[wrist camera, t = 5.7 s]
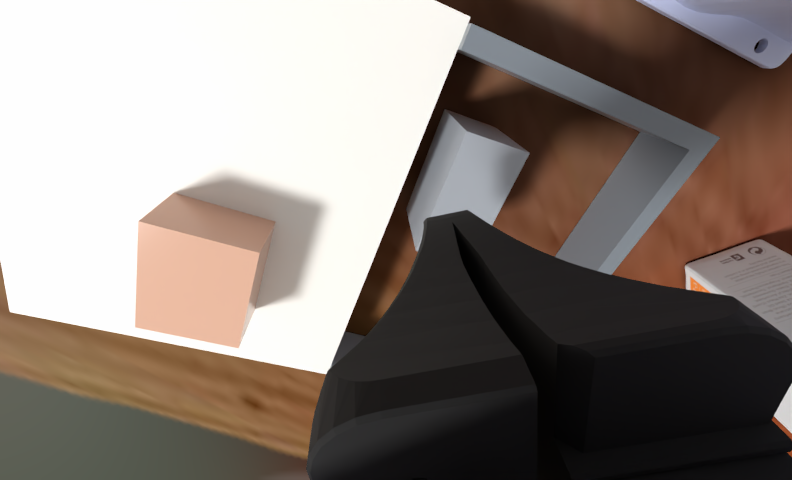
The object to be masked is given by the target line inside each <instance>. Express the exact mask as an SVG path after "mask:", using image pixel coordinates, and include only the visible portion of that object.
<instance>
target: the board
mask: <svg viewBox="0 0 792 480" xmlns="http://www.w3.org/2000/svg"><path fill="white" fill-rule="evenodd" d="M470 18H471V17H470V16H468V15H465V14H463V13H461V12H459V11H457V10H455V9H453V8H450V7H448V6H446V5H444V4H442V3H440V2H437V1H435V0H0V261H1V266H2V272H3V277H4V283H5V288H6V293H7V299H8V304H9V310H10V312H13V313H18V314H23V315H28V316H33V317H38V318H43V319H49V320H54V321H59V322H64V323H69V324H74V325H79V326H84V327H89V328H94V329H99V330H104V331H109V332H115V333H120V334H125V335H130V336H135V337H140V338H145V339H150V340H155V341H160V342H165V343H170V344H175V345H180V346H186V347H191V348H196V349H201V350H206V351H211V352H216V353H221V354H226V355H231V356H236V357H241V358H246V359H252V360H257V361H262V362H267V363H272V364H277V365H282V366H287V367H292V368H297V369H302V370H307V371H312V372H318V373H323V374H327V371H328V370H329V369H330V366H331V364H332V361H333V359H334V356H335V354H336V351H337V349H338V346H339V344H340V341H341V339H342V336H343V334H344V331H345V329H346V327H347V324H348V322H349V319H350V317H351V314H352V312H353V309H354V307H355V304H356V302H357V299H358V297H359V294H360V292H361V289H362V287H363V284H364V282H365V279H366V277H367V274H368V272H369V269H370V267H371V264H372V262H373V259H374V257H375V254H376V252H377V249H378V247H379V244H380V242H381V239H382V237H383V234H384V232H385V229H386V227H387V224H388V222H389V219H390V217H391V214H392V212H393V209H394V207H395V205H396V202H397V200H398V197H399V195H400V192H401V190H402V187H403V185H404V182H405V180H406V177H407V175H408V172H409V170H410V167H411V165H412V162H413V160H414V157H415V155H416V152H417V150H418V147H419V145H420V142H421V140H422V137H423V135H424V132H425V130H426V127H427V125H428V122H429V120H430V117H431V115H432V112H433V110H434V107H435V105H436V102H437V100H438V97H439V95H440V92H441V90H442V87H443V85H444V82H445V80H446V78H447V75H448V73H449V70H450V68H451V65H452V63H453V60H454V58H455V55H456V53H457V50H458V48H459V45H460V43H461V40H462V38H463V35H464V33H465V30H466V28H467V25H468V23H469V20H470ZM173 193H177V194H180V195H184V196H187V197H191V198H194V199H198V200H202V201H205V202H209V203H212V204H216V205H219V206H223V207H226V208H230V209H233V210H237V211H240V212H244V213H247V214H251V215H254V216H258V217H261V218H265V219H268V220H272V221H275V222H276V223H275V227H274V231H273V235H272V240H271V244H270V248H269V252H268V257H267V261H266V265H265V269H264V274H263V278H262V282H261V286H260V291H259V295H258V299H257V304H256V308H255V311H254V313H253V315H252V318H251V320H250V323H249V325H248V327H247V330H246V332H245V334H244V337H243V339H242V342H241V344H240V346H239V348H234V347H230V346H225V345H220V344H215V343H210V342H205V341H200V340H195V339H190V338H185V337H180V336H175V335H170V334H165V333H160V332H155V331H150V330H145V329H140V328H136V327H135V310H136V277H137V245H138V221H139V220H140V219H142V218H143V217H144V216H145V215H147V214H148V213H149V212H150V211H152V210H153V209H154V208H155V207H156V206H158V205H159V204H160V203H161V202H163V201H164V200H165V199H166V198H168V197H169V196H170V195H171V194H173Z"/></svg>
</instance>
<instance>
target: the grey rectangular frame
mask: <svg viewBox="0 0 792 480" xmlns="http://www.w3.org/2000/svg"><path fill="white" fill-rule="evenodd" d="M457 52H458V53H460V54H463V55H465V56H467V57H470V58H472V59H474V60H477V61H479V62H481V63H483V64H486V65H488V66H490V67H493V68H495V69H497V70H499V71H502V72H504V73H506V74H509V75H511V76H513V77H516V78H518V79H520V80H522V81H525V82H527V83H529V84H532V85H534V86H536V87H539V88H541V89H543V90H545V91H548V92H550V93H552V94H555V95H557V96H559V97H561V98H564V99H566V100H568V101H571V102H573V103H575V104H578V105H580V106H582V107H584V108H587V109H589V110H591V111H594V112H596V113H598V114H600V115H603V116H605V117H607V118H610V119H612V120H614V121H617V122H619V123H621V124H623V125H626V126H628V127H630V128H633V129H635V130H637V131H639V132H640V133H639V134H638V136H637V137H636V139H635V140H634V142H633V143H632V145H631V146H630V148H629V149H628V150H627V152H626V153H625V155H624V156H623V158H622V159H621V161H620V162H619V164H618V165H617V167H616V168H615V170H614V171H613V172H612V174H611V175H610V177H609V178H608V180H607V181H606V183H605V184H604V186H603V187H602V189H601V190H600V191H599V193H598V194H597V196H596V197H595V199H594V200H593V202H592V203H591V205H590V206H589V208H588V209H587V210H586V212H585V213H584V215H583V216H582V218H581V219H580V221H579V222H578V224H577V225H576V227H575V228H574V230H573V231H572V232H571V234H570V235H569V237H568V238H567V240H566V241H565V243H564V244H563V246H562V247H561V249H560V250H559V251H558V253H557V254H556V256H555V257H556V258H559V259H561V260H564V261H567V262H570V263H573V264H576V265H579V266H582V267H585V268H589V269H592V270H596V271H599V272H603V273H606V274H610V275H612V273H613V272H614V271H615V269H616V268H617V267H618V266H619V264H620V263H621V262H622V261H623V259H624V258H625V257H626V256H627V254H628V253H629V252H630V251H631V249H632V248H633V247H634V246H635V244H636V243H637V242H638V240H639V239H640V238H641V237H642V235H643V234H644V233H645V232H646V230H647V229H648V228H649V227H650V225H651V224H652V223H653V222H654V220H655V219H656V218H657V217H658V215H659V214H660V213H661V211H662V210H663V209H664V208H665V206H666V205H667V204H668V203H669V201H670V200H671V199H672V198H673V196H674V195H675V194H676V193H677V191H678V190H679V189H680V188H681V186H682V185H683V184H684V183H685V181H686V180H687V179H688V177H689V176H690V175H691V174H692V172H693V171H694V170H695V169H696V167H697V166H698V165H699V164H700V162H701V161H702V160H703V159H704V157H705V156H706V155H707V154H708V152H709V151H710V150H711V148H712V147H713V146H714V145H715V143H716V142H717V141H718V140H719V138H720V137H718V136H716V135H714V134H711V133H709V132H707V131H705V130H703V129H700V128H698V127H696V126H694V125H692V124H690V123H687V122H685V121H683V120H681V119H679V118H677V117H674V116H672V115H670V114H668V113H666V112H664V111H661V110H659V109H657V108H655V107H653V106H650V105H648V104H646V103H644V102H642V101H640V100H637V99H635V98H633V97H631V96H629V95H627V94H624V93H622V92H620V91H618V90H616V89H614V88H611V87H609V86H607V85H605V84H603V83H600V82H598V81H596V80H594V79H592V78H590V77H587V76H585V75H583V74H581V73H579V72H577V71H574V70H572V69H570V68H568V67H566V66H564V65H561V64H559V63H557V62H555V61H553V60H551V59H548V58H546V57H544V56H542V55H540V54H537V53H535V52H533V51H531V50H529V49H527V48H524V47H522V46H520V45H518V44H516V43H514V42H511V41H509V40H507V39H505V38H503V37H501V36H498V35H496V34H494V33H492V32H490V31H487V30H485V29H483V28H481V27H479V26H477V25H474V24H472V23H469V24H468V25H467V28H466V30H465V33H464V35H463V38H462V40H461V43H460V45H459V48H458V50H457ZM364 337H365V336H363V335H358V334H354V333H350V332H345V331H344V334H343V336H342V339H341V341H340V344H339V346H338V349H337V351H336V354H335V356H334V359H333V361H332V364H331V366H330V368H331V367H332V366H334V365H335V364H336V363H337V362H338V361H339V360H341V359H342V358H343V357H344V356H345V355H346V354H347V353H348V352H349V351H351V350H352V349H353V348H354V347H355V346H356V345H357V344H358V343H359V342H360V341H361V340H362V339H363V338H364Z"/></svg>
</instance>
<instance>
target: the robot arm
mask: <svg viewBox="0 0 792 480" xmlns="http://www.w3.org/2000/svg"><path fill="white" fill-rule="evenodd" d="M636 1H638V2H640V3H642V4H644V5H645V6H647V7H649V8H651V9H653V10H655V11H657V12H658V13H660V14H662V15H664V16H666V17H668V18H670V19H671V20H673V21H675V22H677V23H679V24H681V25H683V26H685V27H686V28H688V29H690V30H692V31H694V32H696V33H698V34H699V35H701V36H703V37H705V38H707V39H709V40H711V41H712V42H714V43H716V44H718V45H720V46H722V47H724V48H725V49H727V50H729V51H731V52H733V53H735V54H737V55H738V56H740V57H742V58H744V59H746V60H748V61H750V62H752V63H753V64H755V65H757V66H759V67H761V68H768V69H773V68H776V67H778V66H780V65H781V64H782V63H783V62H784V61H785V60H786V59H787V58H788V57H789V55H790V54H791V53H792V0H636ZM758 41H759V45H758V47H757V48H756V49H755V50H754V47H755V45H756V43H757V42H758ZM423 224H424V229H423V235H422V240H421V244H420V247H419V250H418V253H417V256H416V259H415V261H414V264H413V266H412V268H411V271H410V273H409V275H408V277H407V279H406V281H405V283H404V285H403V287H402V288H401V290H400V292H399V293H398V295H397V297H396V298H395V300H394V301H393V303H392V304H391V306H390V307H389V309H388V310H387V311H386V313H385V314H384V315H383V317H382V318H381V319H380V320H379V321H378V323H377V324H376V325H375V326H374V327H373V328H372V329H371V331H370V332H369V333H368V334H367V335H366V336H365V337H364V338H363V339H362V340H361V341H360V342H359V343H358V344H357V345H356V346H355V347H354V348H353V349H352V350H351V351H349V352H348V353H347V354H346V355H345V356H344V357H343V358H342V359H341V360H339V361H338V362H337V363H336V364H335V365H334V366H332V367H331V368H330V369H329V370H328V371H327V374H326V377H325V380H324V383H323V386H322V389H321V392H320V396H319V400H318V403H317V406H316V409H315V414H314V418H313V423H312V430H311V438H310V445H309V453H308V460H307V467H306V470H307V472H308V475H309V478H310V480H792V457H791V456H790V455H789V454H788V453H787V452H790V451H791V450H792V440H791V439H790V438H789V437H788V436H787V435H786V434H785V433H784V432H783V431H782V430H781V429H780V428H779V427H778V426H777V425H776V424H775V423H774V422H773V421H772V418H773V416H774V414H775V413H776V411H777V409H778V407H779V405H780V404H781V402H782V400H783V398H784V396H785V395H786V393H787V391H788V389H789V387H790V386H791V384H792V342H791V341H790V339H789V338H788V337H787V336H786V335H785V334H783V333H782V332H781V331H779V330H778V329H777V328H775V327H774V326H773V325H771V324H770V323H769V322H767V321H766V320H765V319H763V318H762V317H760V316H759V315H758V314H756V313H755V312H754V311H752V310H751V309H750V308H748V307H747V306H746V305H744V304H743V303H742V302H740V301H739V300H737V299H736V298H734V297H733V296H729V295H722V294H715V293H708V292H701V291H694V290H687V289H680V288H673V287H666V286H661V285H656V284H651V283H646V282H641V281H636V280H631V279H627V278H622V277H618V276H614V275H610V274H606V273H603V272H599V271H596V270H592V269H589V268H585V267H582V266H579V265H576V264H573V263H570V262H567V261H564V260H561V259H559V258H556V257H554V256H551V255H548V254H546V253H543V252H541V251H539V250H537V249H534V248H532V247H530V246H528V245H526V244H524V243H522V242H520V241H518V240H516V239H514V238H512V237H511V236H509V235H507V234H505V233H503V232H502V231H500V230H498V229H497V228H495V227H493V226H492V225H490V224H489V223H487V222H485V221H484V220H482V219H481V218H479V217H478V216H476V215H475V214H473V213H472V212H470V211H468V210H464V211H459V212H454V213H449V214H444V215H439V216H434V217H429V218H426V219H425V220H424V222H423Z"/></svg>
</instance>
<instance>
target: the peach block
mask: <svg viewBox="0 0 792 480" xmlns="http://www.w3.org/2000/svg"><path fill="white" fill-rule="evenodd" d="M275 223H276V222H275V221H272V220H268V219H265V218H261V217H258V216H254V215H251V214H247V213H244V212H240V211H237V210H233V209H230V208H226V207H223V206H219V205H216V204H212V203H209V202H205V201H202V200H198V199H194V198H191V197H187V196H184V195H180V194H177V193H173V194H171V195H170V196H169V197H168V198H166V199H165V200H164V201H163V202H161V203H160V204H159V205H158V206H156V207H155V208H154V209H153V210H152V211H150V212H149V213H148V214H147V215H145V216H144V217H143V218H142V219H140V220H139V221H138V245H137V277H136V310H135V327H136V328H140V329H145V330H150V331H155V332H160V333H165V334H170V335H175V336H180V337H185V338H190V339H195V340H200V341H205V342H210V343H215V344H220V345H225V346H230V347H234V348H239V346H240V344H241V342H242V339H243V337H244V334H245V332H246V330H247V327H248V325H249V323H250V320H251V318H252V315H253V313H254V311H255V308H256V304H257V299H258V295H259V291H260V286H261V282H262V278H263V274H264V269H265V265H266V261H267V257H268V252H269V248H270V244H271V240H272V235H273V231H274V227H275Z"/></svg>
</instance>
